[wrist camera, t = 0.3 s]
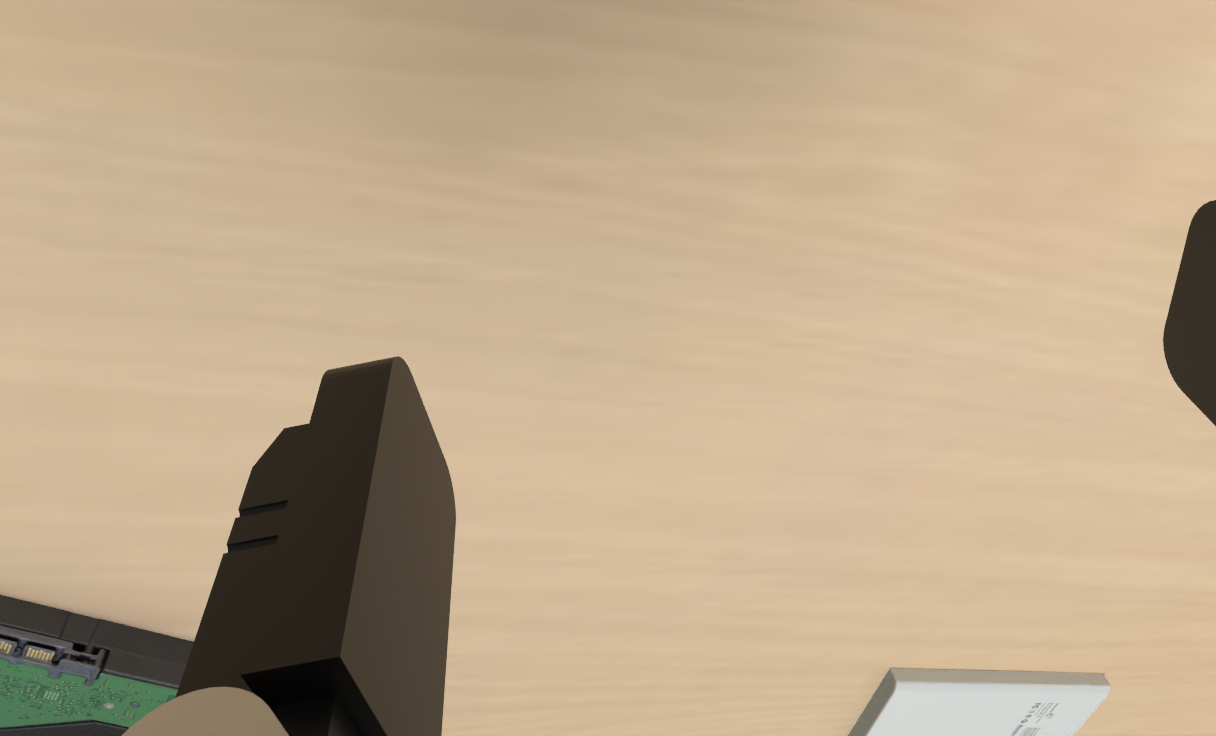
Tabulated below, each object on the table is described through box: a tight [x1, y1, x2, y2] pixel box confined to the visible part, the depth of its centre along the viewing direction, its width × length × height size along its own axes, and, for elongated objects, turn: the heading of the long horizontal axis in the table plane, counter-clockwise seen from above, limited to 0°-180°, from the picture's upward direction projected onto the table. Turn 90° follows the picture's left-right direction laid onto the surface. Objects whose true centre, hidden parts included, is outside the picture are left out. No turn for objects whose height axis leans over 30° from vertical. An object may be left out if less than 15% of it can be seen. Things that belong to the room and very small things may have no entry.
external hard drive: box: [848, 668, 1111, 736], centre depth 48 cm, size 2×8×12 cm
